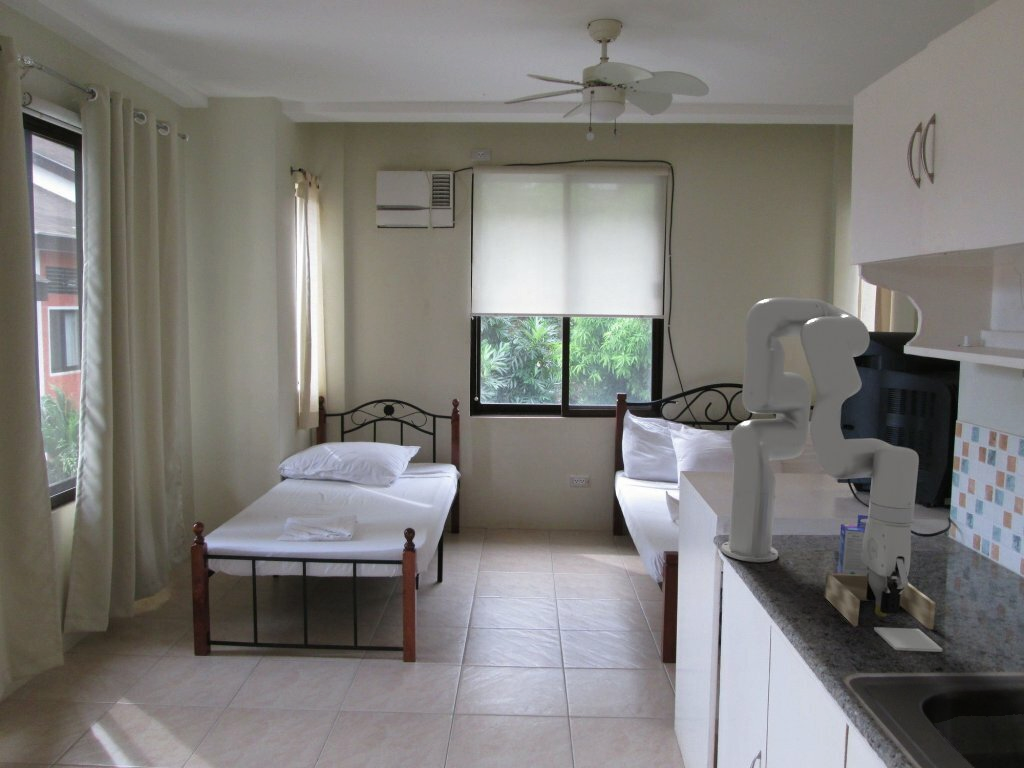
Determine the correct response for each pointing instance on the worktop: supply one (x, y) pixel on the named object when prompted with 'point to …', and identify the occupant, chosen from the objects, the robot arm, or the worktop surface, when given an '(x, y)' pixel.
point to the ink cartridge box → (852, 548)
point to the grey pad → (907, 639)
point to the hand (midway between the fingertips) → (882, 605)
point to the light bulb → (878, 589)
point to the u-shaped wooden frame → (853, 588)
